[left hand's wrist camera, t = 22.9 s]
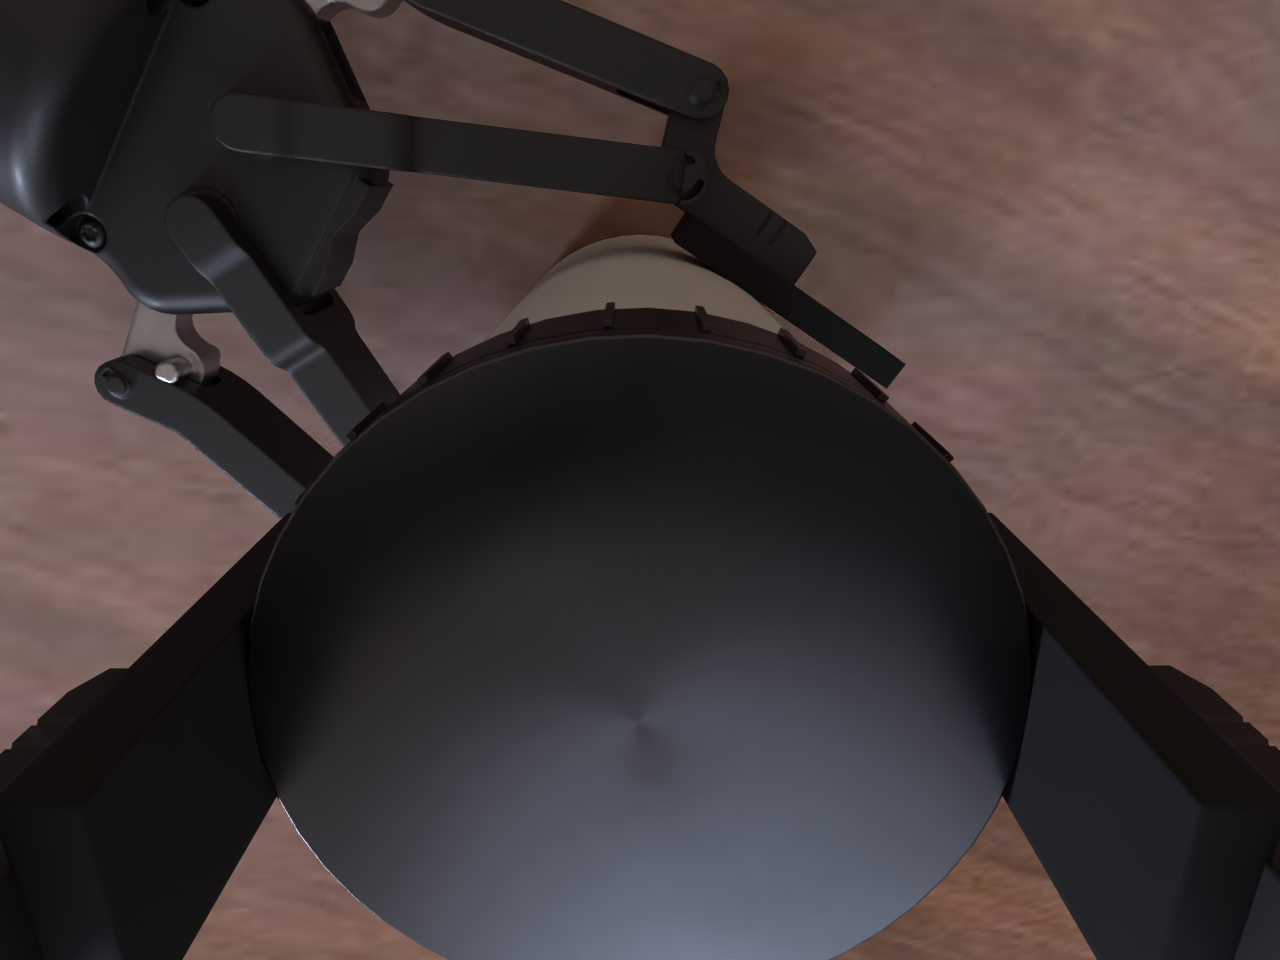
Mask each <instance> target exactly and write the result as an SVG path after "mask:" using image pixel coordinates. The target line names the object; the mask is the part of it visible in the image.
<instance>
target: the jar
mask: <svg viewBox="0 0 1280 960" xmlns="http://www.w3.org/2000/svg"><path fill="white" fill-rule="evenodd" d="M608 302H615V308H616V309H626V308H659V309H670V310H682V311H693V312H694V311H695V306H696V305H697V306H703V307H704V309H705V311H706V313H707V314H710V315H714V316H719V317H723V318H728V319H732V320H737V321H741V322H746V323H749V324H752V325H755V326H757V327H760V328H763V329H765V330H768V331H771V332H774V333H776V334H778V332H779V330H780V328H783V327H782V326H781V325H780V324H779V323H778V322H777V321H776V320H775V318H774V317H773V316H772V315H771V314H770V313H769V312H768V311H767V310H766V308H765V307H764V306H763V305H762V304H761V303H760V302H759V301H758V300H757V299H756V298H754V297H753V296H751V295H750V294H748V293H747V292H745V291H744V290H743V289H741V288H740V287H738V286H737V285H735V284H734V283H732V282H731V281H729V280H728V279H727V278H725V277H724V276H722V275H721V274H719V273H718V272H716V271H715V270H713V269H712V268H711V267H709V266H708V265H706V264H705V263H703V262H702V261H700V260H699V259H697V258H696V257H695V256H693V255H692V254H690V253H689V252H687V251H686V250H684V249H683V248H681V247H680V246H679V245H677V244H676V243H675V242H674V240H673V239H670V238H666V237H661V236H652V235H628V236H619V237H614V238H609V239H604V240H601V241H598V242H596V243H593V244H590V245H587V246H585V247H583V248H581V249H579V250H577V251H575V252H573V253H572V254H570V255H568V256H567V257H566V258H564V259H563V260H561V261H560V262H558V263H557V264H556V265H555V266H554V267H552V268H551V269H550V270H549V271H548V272H547V273H546V274H545V275H544V276H543V277H542V278H541V279H540V280H539V281H538V282H537V284H536V285H535V286H534V287H533V288H532V289H531V290H530V291H529V292H528V293H527V295H526V296H525V297H524V298H523V299H522V300H521V301H520V302H519V303H518V305H517V306H516V307H515V308H514V309H513V310H512V311H511V312H510V313H509V315H508V316H507V317H506V318H505V319H504V320H503V321H502V322H501V323H500V324H499V326H498V327H497V328H496V329H495V330H494V331H493V332H492V333H491V334H490V336H489V337H488V338H487V339H486V340H488V339H490V338H492V337H494V336H496V335H499V334H501V333H504V332H507V331H511V330H513V328H514V327H515V326H516V325H517V323H518V322H519V321H520V320H522V319H525V318H528V319H529V322H530V324H532V323H535V322H539V321H542V320H545V319H549V318H554V317H560V316H565V315H571V314H576V313H582V312H588V311H593V310H604V309H605V307H606V303H608ZM783 329H784V328H783ZM486 340H485V341H486Z"/></svg>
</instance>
